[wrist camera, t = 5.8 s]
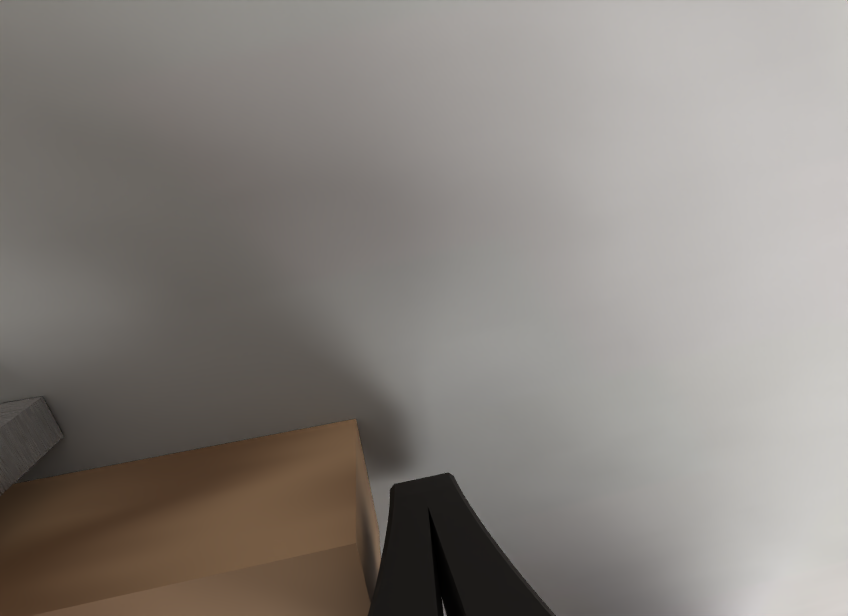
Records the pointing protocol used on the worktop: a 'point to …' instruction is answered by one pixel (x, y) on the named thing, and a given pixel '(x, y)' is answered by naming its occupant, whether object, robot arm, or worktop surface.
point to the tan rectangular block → (199, 533)
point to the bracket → (24, 437)
